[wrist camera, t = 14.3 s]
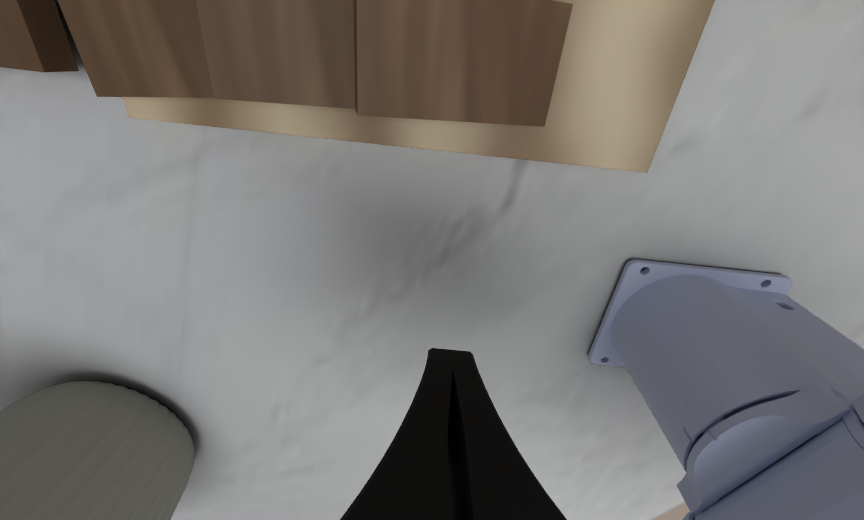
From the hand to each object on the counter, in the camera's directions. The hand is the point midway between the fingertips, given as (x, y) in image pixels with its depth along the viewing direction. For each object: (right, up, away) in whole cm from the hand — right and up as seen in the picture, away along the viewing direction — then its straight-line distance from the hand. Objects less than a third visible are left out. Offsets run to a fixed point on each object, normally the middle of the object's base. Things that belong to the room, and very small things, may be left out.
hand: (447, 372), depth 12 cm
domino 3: (-7, +13, +4) cm, 15 cm away
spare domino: (+4, +12, +4) cm, 13 cm away
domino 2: (-1, +12, +4) cm, 13 cm away
